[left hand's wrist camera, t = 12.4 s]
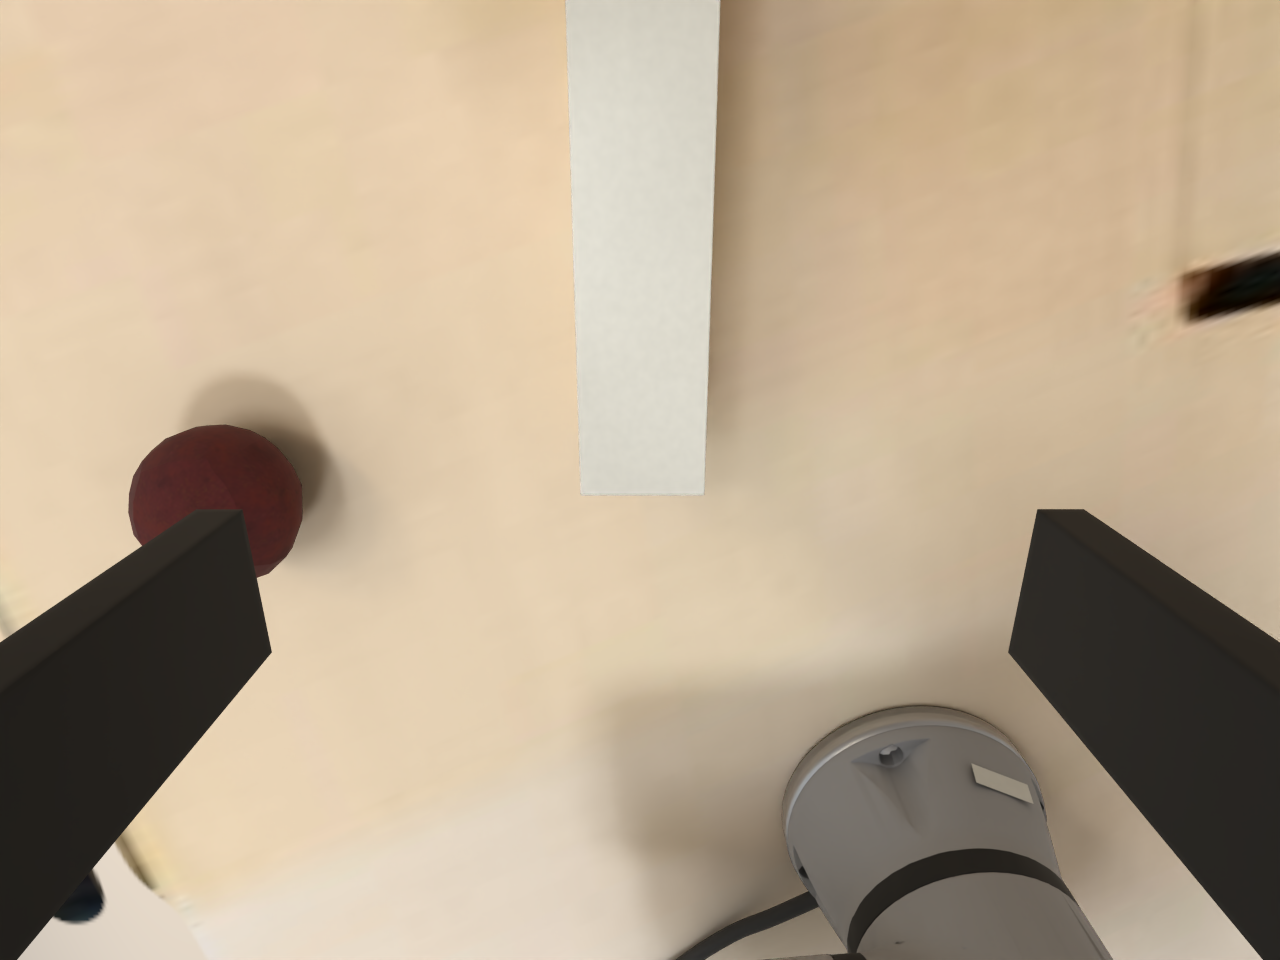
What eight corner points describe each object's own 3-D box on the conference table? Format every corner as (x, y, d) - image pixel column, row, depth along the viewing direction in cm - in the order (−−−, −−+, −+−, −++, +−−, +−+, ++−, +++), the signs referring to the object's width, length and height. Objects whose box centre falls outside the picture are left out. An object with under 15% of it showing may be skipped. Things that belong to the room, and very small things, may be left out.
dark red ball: (299, 397, 36) (224, 438, 30) (346, 537, 39) (287, 603, 32) (159, 421, 37) (54, 467, 30) (215, 557, 40) (130, 628, 33)
